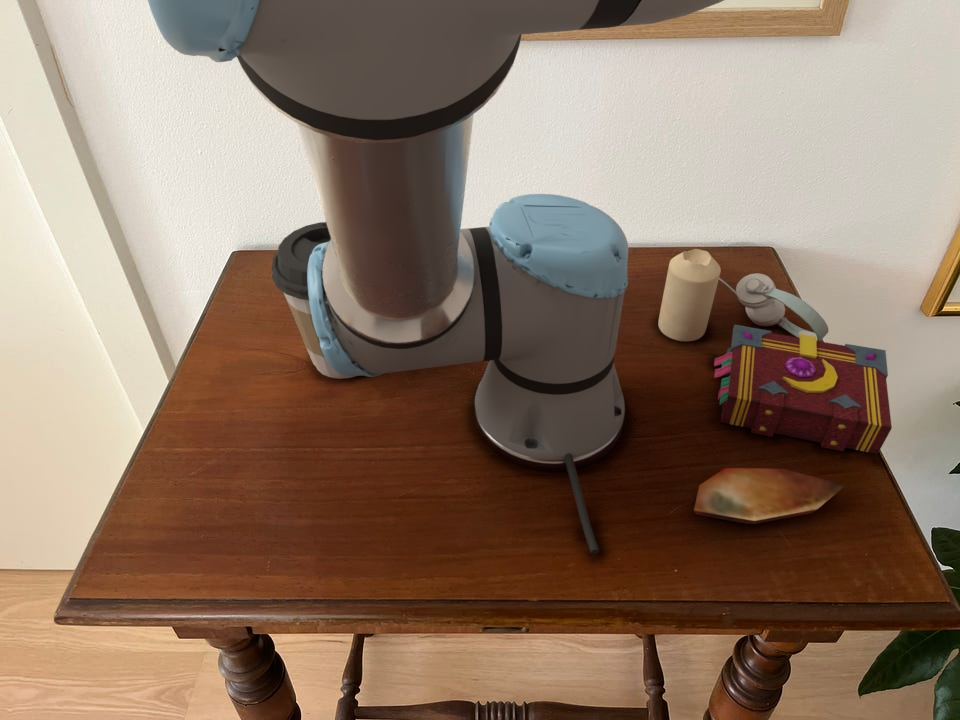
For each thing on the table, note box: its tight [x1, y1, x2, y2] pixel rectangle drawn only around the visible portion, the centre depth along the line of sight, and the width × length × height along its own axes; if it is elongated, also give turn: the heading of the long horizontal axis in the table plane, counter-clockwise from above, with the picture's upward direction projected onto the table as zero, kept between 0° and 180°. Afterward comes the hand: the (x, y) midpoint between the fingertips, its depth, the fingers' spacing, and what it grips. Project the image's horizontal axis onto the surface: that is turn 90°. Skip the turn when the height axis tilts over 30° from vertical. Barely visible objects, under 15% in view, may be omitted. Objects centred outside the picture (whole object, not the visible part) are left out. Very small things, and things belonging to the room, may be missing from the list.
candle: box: [658, 248, 722, 342], centre depth 82 cm, size 6×6×10 cm
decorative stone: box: [693, 467, 846, 525], centre depth 65 cm, size 14×6×3 cm, turn 84°
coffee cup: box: [271, 221, 356, 380], centre depth 77 cm, size 11×11×15 cm
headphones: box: [718, 273, 829, 342], centre depth 85 cm, size 8×4×20 cm
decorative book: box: [713, 324, 893, 455], centre depth 74 cm, size 11×16×5 cm
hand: (391, 198), depth 84 cm, fingers open, 3 cm apart
